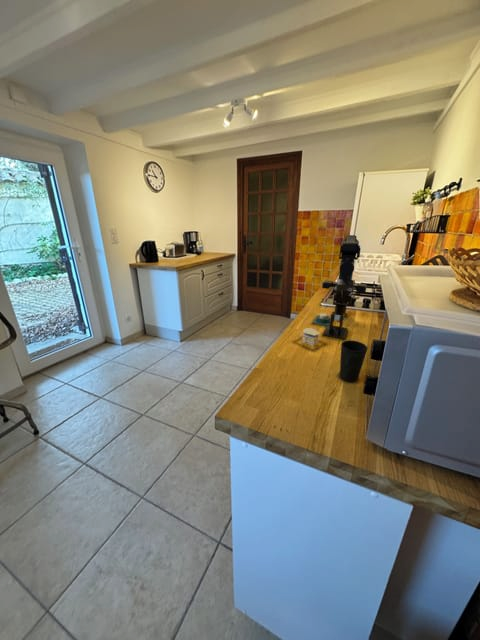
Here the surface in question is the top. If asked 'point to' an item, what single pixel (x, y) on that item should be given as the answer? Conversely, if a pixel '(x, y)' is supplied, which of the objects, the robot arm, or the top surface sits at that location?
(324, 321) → the button housing
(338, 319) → the press lever
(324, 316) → the button
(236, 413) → the top surface
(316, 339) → the stacked layers on plate
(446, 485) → the top surface
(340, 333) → the toaster bracket
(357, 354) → the cup
